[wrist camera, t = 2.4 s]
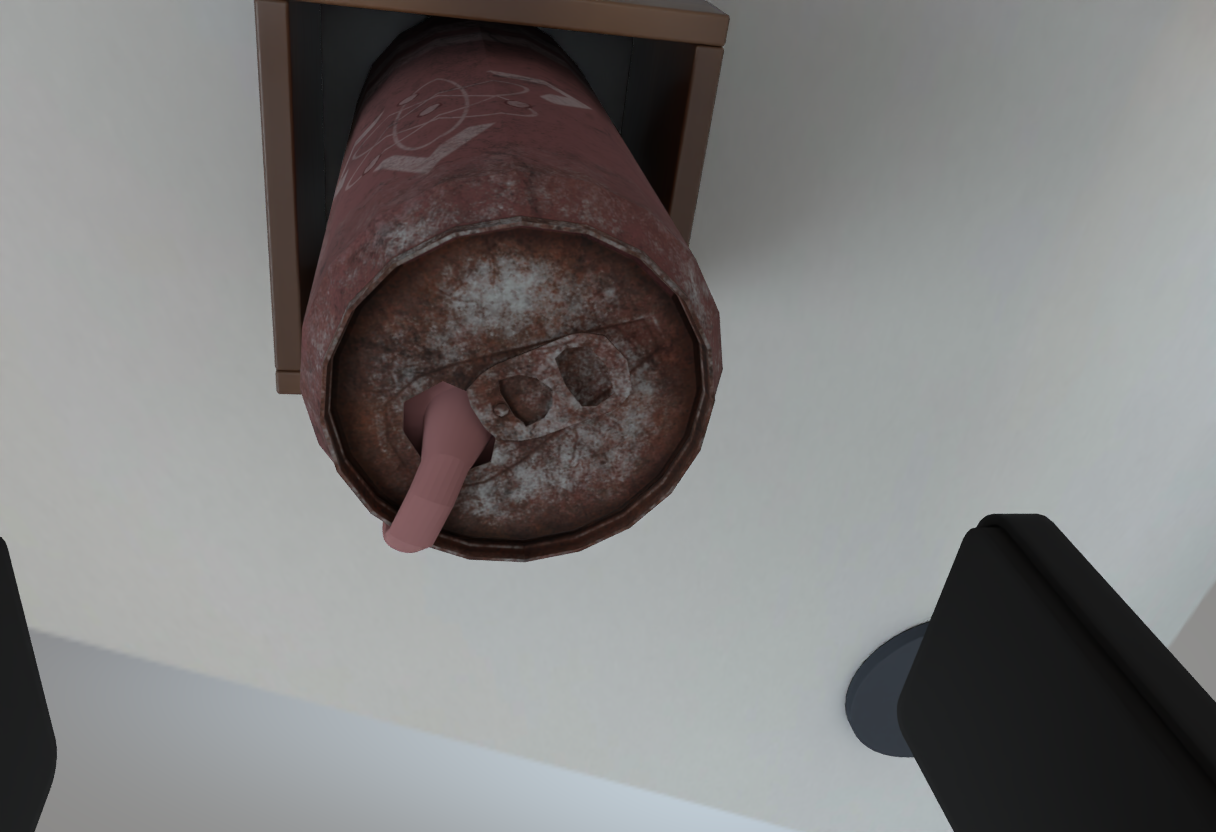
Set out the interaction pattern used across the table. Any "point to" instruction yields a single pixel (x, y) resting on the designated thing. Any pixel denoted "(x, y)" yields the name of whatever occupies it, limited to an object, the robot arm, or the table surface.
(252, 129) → the table surface
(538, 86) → the can
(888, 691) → the coaster
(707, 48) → the holder
